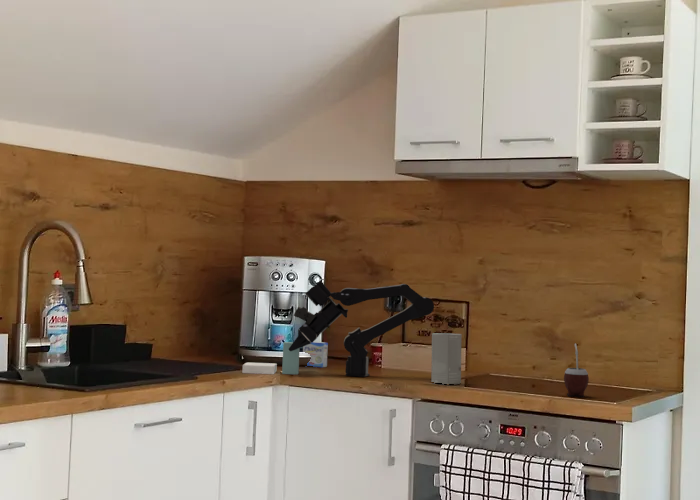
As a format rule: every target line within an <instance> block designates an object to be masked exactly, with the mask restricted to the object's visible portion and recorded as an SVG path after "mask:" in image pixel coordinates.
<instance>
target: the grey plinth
mask: <svg viewBox="0 0 700 500" xmlns="http://www.w3.org/2000/svg"><path fill="white" fill-rule="evenodd" d="M277 365H278V364H277V363H271V362H270V363H269V362H245V363H244V364H242V371H241V373H242V374H256V375H257V374H258V375H274V374H275V373H276V372H277V367H278V366H277Z"/></svg>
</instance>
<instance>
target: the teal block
mask: <svg viewBox="0 0 700 500" xmlns="http://www.w3.org/2000/svg"><path fill="white" fill-rule="evenodd" d="M293 342H294V341H284V342H283V344H282V346H283V348H282V367H281V369H282V370H281V371H282V373H281V374H282V375H299V373H300V349H301V348H298V349H296V350H293V351H289V348H290V346H291V345H292V343H293Z"/></svg>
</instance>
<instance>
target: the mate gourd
mask: <svg viewBox="0 0 700 500" xmlns="http://www.w3.org/2000/svg"><path fill="white" fill-rule="evenodd" d="M574 348H575V364H576V365H575V366H576V367H568V368H567V369H565V371H564V374H563V382H564V385H565V388H566V389H567V393H566V395H567V396H566V397H568V398H571V397H573V398H575V397H576V398H577V397H578V398H582V399H583V398H585V394H584V393H585V391H586V389H587V387H588V385H589V373H588V371H587V369H585V368H580V367H579V351H578V347H577V343H574Z"/></svg>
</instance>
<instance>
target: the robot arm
mask: <svg viewBox="0 0 700 500" xmlns="http://www.w3.org/2000/svg"><path fill="white" fill-rule="evenodd" d="M325 285H326V284H324V283H323V281H322V280H319V281H318V282H317V283H316V284H315V285H314V286H312V287H311V288H310V289H308V290H307V291H306V292H305V294H304V295H306V297H307V298H308V299H309V300H310V301H311V302H312V303H313V305H315V307H318V306H319V307H322V306H323V307H322V308H321V309H320V310H319V311H318V312H315V313H312V312H310V311H308V308H307V307H305V306H303V307H301V306H297V308H296V310H295V312H294V314H293V316H294V317H296V318H299V319H300V320H303V321H304V323H303V324H301V326H299V328H298V330H297V337H296V338H295V340H293V341H292V342H293V343H292V345H291V346H290V348H289V351H293V350H296V349H298V348H300V349H301V348H303V346H306V345H308V344H311V342H316V340H317V339H318V338H319V337H320V335H321V334H322V333H323V332H324V331H325V330H326V329H327V328H329V327H330V326H331V325H332V324H333V323H334V322H335V321H336V320H337V319H338V318H340V316H343V317H345V318H346V319H347V317H348V312H349V309H348V308H344V307H343V306H342V305H344V306H347V307H348V306H353V305H357V304H360V303H363V302H365V301H370V300H378V299H387V298H388V299H389V298H397V297H403V298H404V299H406V300H407V301H408V302H409V303H411V304H410V305H408V306H407V307H405V309H403V310H401V311H400V312H397V313H396V314H394V315H393V316H390V317H388V318H387V319H384V320H383V321H381V322H379V323H377V324H375V325H373V326H370V327H368V328H366V329H363V330H361V328H360V327H357V328H356V329H354V330H353V331H349V332H348V334H347V335H346V336H345V338H344V340H343V346H344V349H345V350H346V351H347V352H349V355H348V356H347V360H346V361H345V377H346V376H349V377H360V378H361V377H362V378H363V377H365V378H366V377H368V376H370V373H369V356H368V353H369V352H368V350H367V349H366V345H368V344H369V343H370V342H372V341H373V340H374V339H376V338H378V337H380V336H382V335H383V334H386V333H388V332H390V331H392V330H393V329H395V328H398V327H399V326H401V325H404V324H405V323H408V322H409V321H411V320H412V321H413V320H415V319H420V318H422V317H426V316H429V315H430V314H432V312H434V308H435V303H434V302H433V300H432V299H431V298H429V297H425V296H422V295H421V294H419V293H417V292H416V291H415V290H414V289H412V288H411V287H410V285H408V284H407V283H401V284H396V285H389V286H388V285H386V286H380V287H379V286H378V287H374V288H373V287H372V288H371V287H370V288H355V287H345V288H343V289H341V291H337V292H336V291H333V292H331V291H330V289H328V288H327V286H325ZM333 300H335V301H339V302H340V303H339V302H338V303H335V302H334V301H333ZM328 301H329V302H328ZM325 303H326V304H325Z"/></svg>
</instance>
